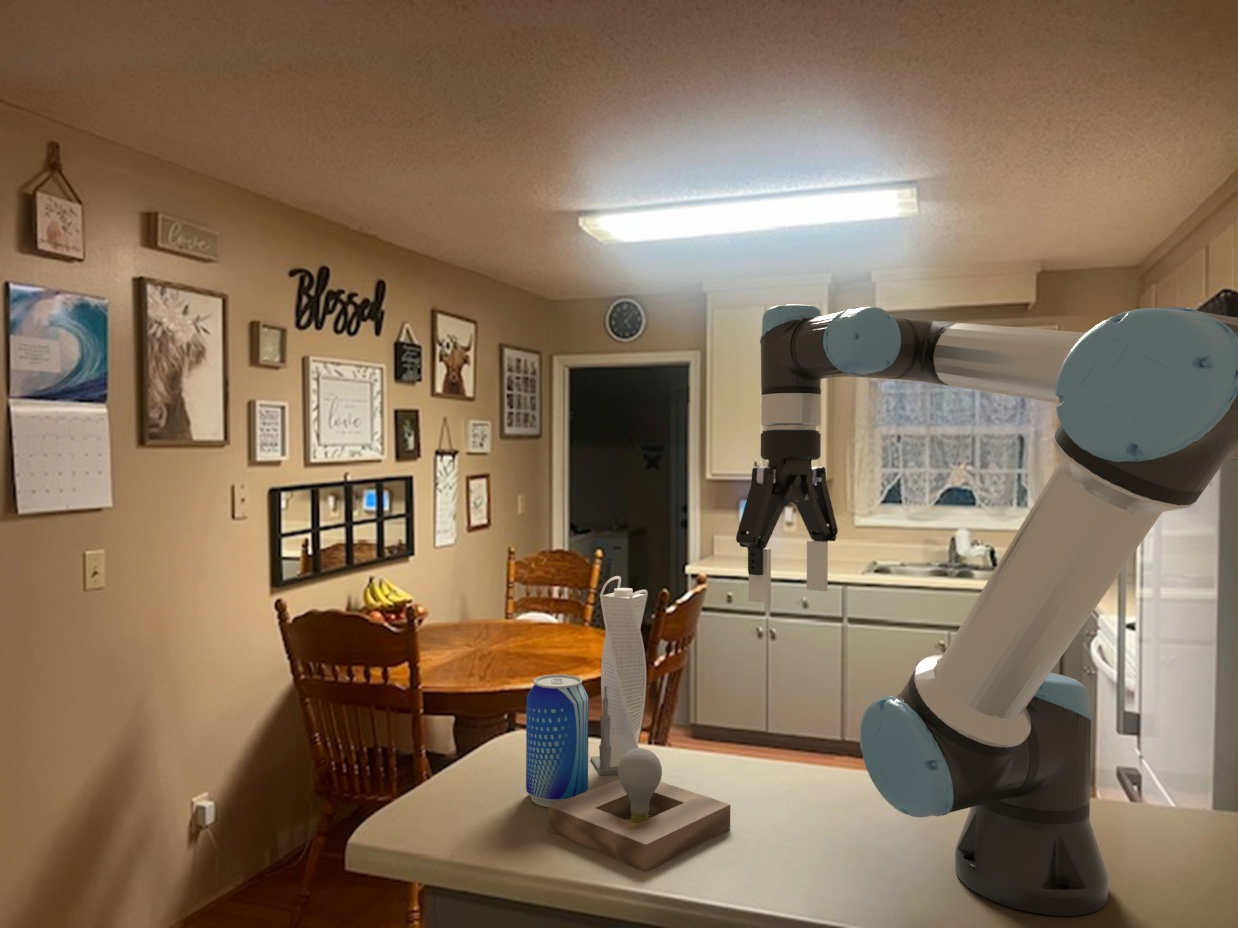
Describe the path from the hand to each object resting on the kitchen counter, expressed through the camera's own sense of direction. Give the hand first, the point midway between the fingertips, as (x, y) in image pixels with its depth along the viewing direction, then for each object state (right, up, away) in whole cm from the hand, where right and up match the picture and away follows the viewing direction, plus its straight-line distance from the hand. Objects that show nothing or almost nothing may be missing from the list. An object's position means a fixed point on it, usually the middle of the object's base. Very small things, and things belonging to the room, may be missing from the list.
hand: (789, 595), depth 112 cm
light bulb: (-19, -29, -3) cm, 35 cm away
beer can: (-30, -29, +7) cm, 42 cm away
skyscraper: (-21, -29, +21) cm, 42 cm away
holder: (-19, -29, -3) cm, 35 cm away
